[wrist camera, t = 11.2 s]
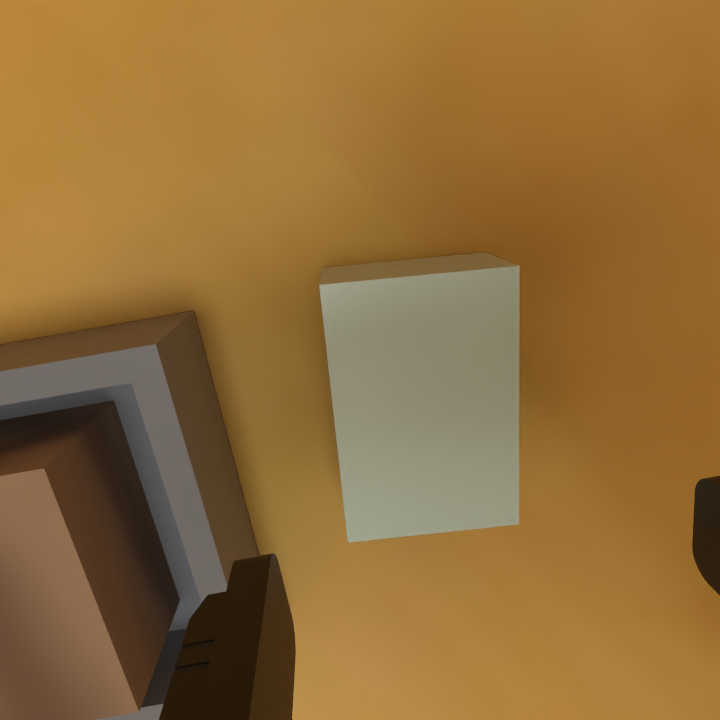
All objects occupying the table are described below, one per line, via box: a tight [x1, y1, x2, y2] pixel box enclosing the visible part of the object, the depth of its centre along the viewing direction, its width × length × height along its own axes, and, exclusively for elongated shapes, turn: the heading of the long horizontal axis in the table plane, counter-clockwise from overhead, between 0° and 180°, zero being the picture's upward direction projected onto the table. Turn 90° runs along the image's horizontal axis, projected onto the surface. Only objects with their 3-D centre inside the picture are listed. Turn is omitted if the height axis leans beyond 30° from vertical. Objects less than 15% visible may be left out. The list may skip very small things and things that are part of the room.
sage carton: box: [319, 252, 520, 543], centre depth 19 cm, size 6×9×4 cm, turn 5°
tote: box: [0, 311, 259, 720], centre depth 20 cm, size 13×14×4 cm
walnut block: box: [0, 400, 180, 720], centre depth 18 cm, size 6×9×5 cm, turn 9°
